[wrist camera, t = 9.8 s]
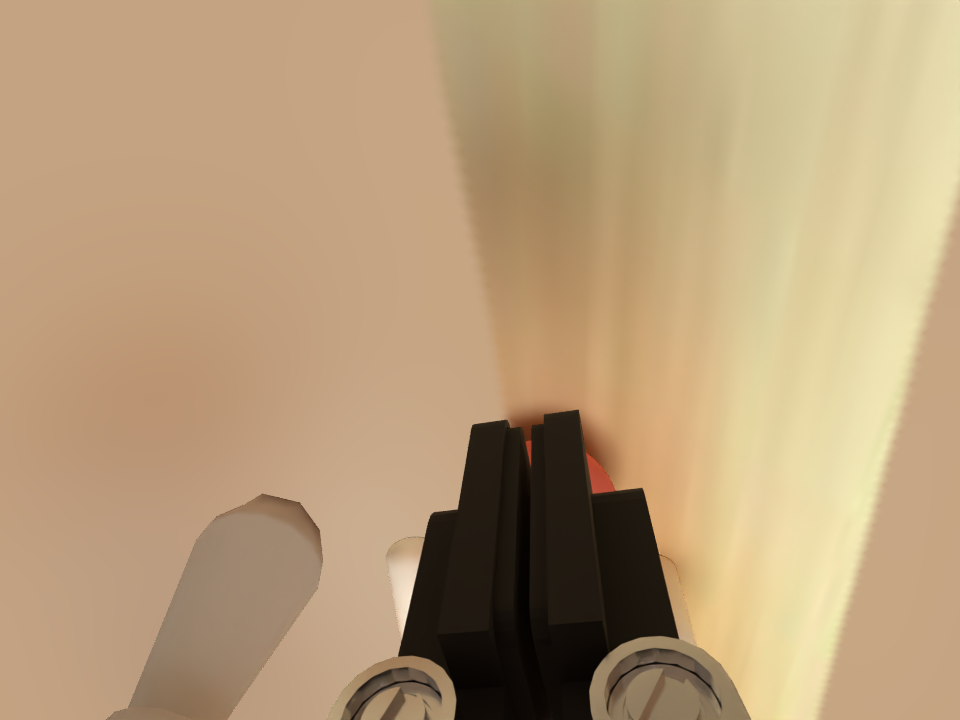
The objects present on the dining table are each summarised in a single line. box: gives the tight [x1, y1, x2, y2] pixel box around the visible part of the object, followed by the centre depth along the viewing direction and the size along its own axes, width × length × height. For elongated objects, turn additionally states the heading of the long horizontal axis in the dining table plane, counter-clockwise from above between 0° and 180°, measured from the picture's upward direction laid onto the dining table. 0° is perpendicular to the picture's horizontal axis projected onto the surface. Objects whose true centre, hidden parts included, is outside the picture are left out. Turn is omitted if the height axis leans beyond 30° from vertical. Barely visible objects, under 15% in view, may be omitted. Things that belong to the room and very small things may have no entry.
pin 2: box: [659, 555, 697, 646], centre depth 27 cm, size 2×2×9 cm
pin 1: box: [386, 537, 425, 641], centre depth 32 cm, size 2×2×9 cm
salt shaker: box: [106, 494, 323, 720], centre depth 25 cm, size 6×6×13 cm
